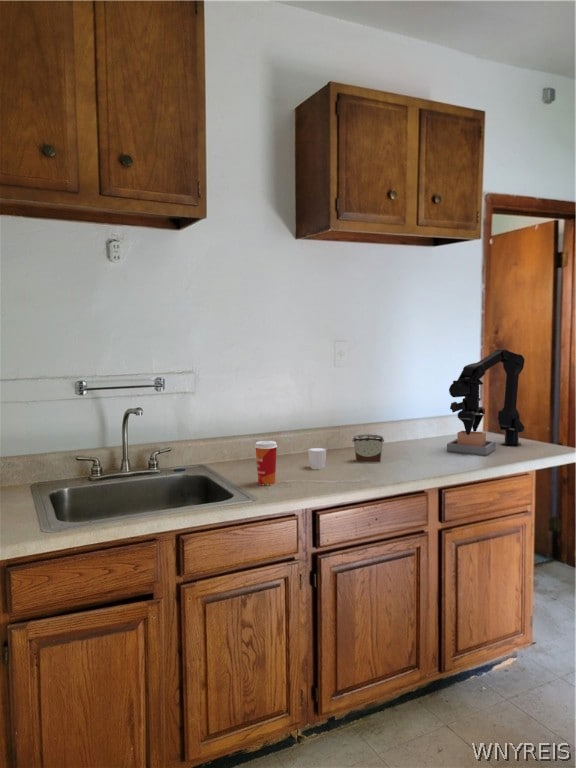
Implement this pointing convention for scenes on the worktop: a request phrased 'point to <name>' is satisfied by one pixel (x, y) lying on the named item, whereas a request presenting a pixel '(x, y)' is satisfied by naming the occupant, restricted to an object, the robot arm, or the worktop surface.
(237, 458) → the worktop surface
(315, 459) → the white ribbed cup
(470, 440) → the box
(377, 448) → the food container
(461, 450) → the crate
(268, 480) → the paper cup
